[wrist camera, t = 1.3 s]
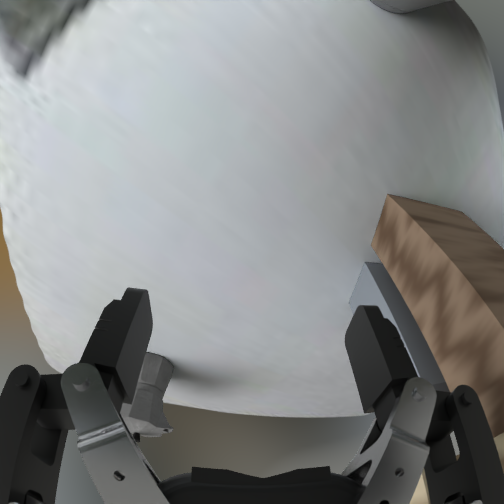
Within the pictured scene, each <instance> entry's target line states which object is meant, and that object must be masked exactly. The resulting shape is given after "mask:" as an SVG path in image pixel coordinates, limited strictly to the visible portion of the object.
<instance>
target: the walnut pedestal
mask: <svg viewBox="0 0 504 504" xmlns="http://www.w3.org/2000/svg"><path fill="white" fill-rule="evenodd" d="M371 246H372V247H373V249H374V251H375V252H376V254H377V255H378V257H379V258H380V260H381V262H382V263H383V265H384V267H385V268H386V270H387V271H388V273H389V275H390V276H391V278H392V280H393V281H394V283H395V285H396V287H397V288H398V290H399V292H400V293H401V295H402V297H403V299H404V300H405V302H406V304H407V306H408V308H409V309H410V311H411V313H412V315H413V317H414V319H415V320H416V322H417V324H418V326H419V328H420V330H421V332H422V334H423V336H424V338H425V339H426V341H427V343H428V345H429V347H430V349H431V352H432V354H433V356H434V358H435V360H436V362H437V364H438V366H439V368H440V370H441V373H442V375H443V377H444V379H445V381H446V384H447V386H448V388H449V391H450V392H451V393H452V391H453V390H454V389H455V388H456V387H457V386H459V385H468V386H470V387H471V388H473V389H474V390H475V392H476V393H477V395H478V397H479V400H480V402H481V405H482V407H483V410H484V412H485V415H486V418H487V421H488V423H489V426H490V429H491V432H492V435H493V438H495V437H496V436H498V435H500V434H502V433H504V249H503V248H502V247H501V246H500V245H499V244H498V243H497V242H496V241H494V240H493V239H492V238H491V237H490V236H489V235H488V234H487V233H486V232H485V231H484V230H482V229H481V228H480V227H479V226H478V225H477V224H476V223H474V222H473V221H472V220H471V219H470V218H469V217H467V216H466V215H465V214H464V213H463V212H460V211H457V210H453V209H449V208H445V207H441V206H437V205H433V204H429V203H425V202H421V201H416V200H412V199H408V198H403V197H398V196H394V195H389V194H387V197H386V201H385V204H384V207H383V210H382V214H381V217H380V220H379V223H378V226H377V229H376V232H375V235H374V238H373V241H372V244H371Z"/></svg>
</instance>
